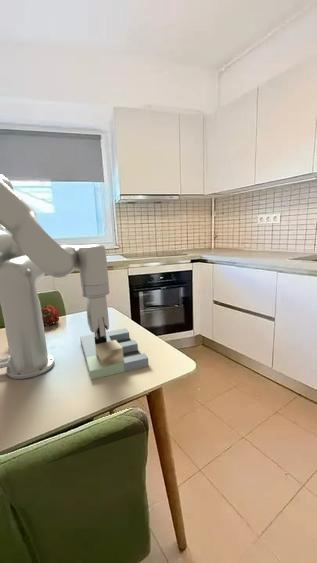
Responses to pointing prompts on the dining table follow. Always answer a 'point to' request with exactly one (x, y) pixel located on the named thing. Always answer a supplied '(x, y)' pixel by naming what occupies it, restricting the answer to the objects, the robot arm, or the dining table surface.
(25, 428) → the dining table surface
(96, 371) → the board
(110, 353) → the block
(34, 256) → the robot arm
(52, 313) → the dragon fruit
